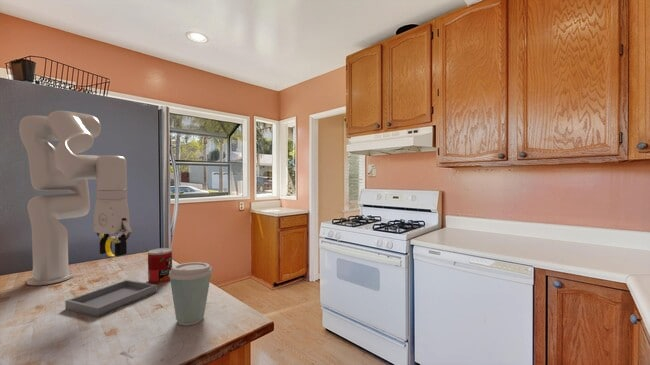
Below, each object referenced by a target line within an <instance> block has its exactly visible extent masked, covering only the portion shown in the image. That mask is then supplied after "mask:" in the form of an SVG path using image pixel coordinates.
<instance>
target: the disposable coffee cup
mask: <svg viewBox="0 0 650 365" xmlns="http://www.w3.org/2000/svg"><path fill="white" fill-rule="evenodd" d="M212 272H213V267H212V266H211V264H209V263H208V262H199V261H198V262H197V261H195V262H193V261H192V262H191V261H190V262H185V263H179V264H175V265H172V268H171V271H170V272H169V277H170V280H169V281H170V288H171V294H172V299H173V307H174V313H175V321H177V323H178V324H179V325H181V326H192V325H195V324H198V323H200V322H201V321H203V318H204V317H205V313H206V312H205V311H206V306H207V301H208V300H207V299H208V294H209V287H210V282H211V278H212V277H211V276H212Z"/></svg>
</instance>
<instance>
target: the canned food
mask: <svg viewBox="0 0 650 365" xmlns="http://www.w3.org/2000/svg"><path fill="white" fill-rule="evenodd" d="M172 267H173V249H172V248H170V247H169V248H168V247H159V248H154V249H150V250H148V251H147V276H148V282H149V284H161V283H166V282H169V281H170V277H169V272H170V271H171V268H172Z"/></svg>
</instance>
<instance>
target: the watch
mask: <svg viewBox="0 0 650 365" xmlns="http://www.w3.org/2000/svg"><path fill="white" fill-rule="evenodd" d="M111 241H113V242H114V244H115V243H117V242H116V239H115V236H110V237H108V238H107V241H106V243H105V250H106V253H105V254H106V255H107V257H111V258H116V257H118V256H115V253H114V252H112V251H111V248H110V243H111ZM113 253H114V254H113Z"/></svg>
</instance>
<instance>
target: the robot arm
mask: <svg viewBox="0 0 650 365" xmlns="http://www.w3.org/2000/svg"><path fill="white" fill-rule="evenodd" d="M101 131H102V125H101V122H100V120H99V119H98V118H97V117H96V116H95V115H92V114H88V113H80V112H76V111H69V110H55V111H52V112H50V113H49V114H48V115H46V116H45V115H37V114H36V115H34V114H33V115H26V116H24V117H23V118H22V119H21V120H20V122H19V126H18V132H19V136H20V140H21V142H22V144H23V146H24V148H25V149H26V153H27V156H28V165H29V166H28V167H29V175H30V183H31V186H32V188H33V189H34V190H36V191H41V192H55V191H56V192H57V191H69V193H54V194H53V193H51V194H42V195H36V196H33V197H32V198H31V199H29V201H28V202H27V213H28V215H29V216H28V217H29V220H30V221H29V222H30V227H31V242H32V243H31V244H32V247H31V248H32V270H31V272H32V277H30V278H28V279H27V280H26V283H27V285H29V286H32V287H33V286H44V285H52V284H56V283H60V282H64V281H67V280H70V279H71V278H73V277H74V276H75V272H74V271H73V270H72V271H70V270H69V242H68V241H69V240H68V239H69V238H68V237H69V236H68V229H67V228H66V227H65V225H63V223H61V222H60V221H59V220H65V219H74V218H75V219H77V218H82V217H84V216H87V215H88V214H89V212H90V210H91V199H90V191H89V181H88V180H95V181H96V182H95V183H96V200H95V204H94V209H93V210H94V211H93V231H94V232H95V233H96V235H97V238H98V240H97V241H98V242H99V254H100V255H105V254H107V253H106V250H105V243H106V241H107V238H108V237H112V235H113V237H115V239H116V242H117V243H114V255H115V256H117V257H119V256H120V257H121V256H124V255H126V254H127V251H128V250H127V249H128V248H127V242H128V240H129V238H130V235H132V233H133V229H132V228H131V226H130V225H131V224H130V222H131V220H130V218H131V217H130V209H129V204H128V185H127V184H128V181H127V180H128V178H127V176H128V175H127V173H128V171H127V169H128V168H127V160H126V158H125V157H124V156H121V155H109V154H108V155H104V154H103V155H97V154H95V155H94V154H93V155H91V154H81V153H85V152H86V151H88V150H90V149H91V148H92V147H93V145H94V142H95V141H94V140H95V138H98V137H99V135H100V133H101ZM50 141H55V142H58V143H57V144H56V146H54V145H53V144H52V143H50ZM112 247H113V246H112V241H111V243H110V248H111V252H112V250H113V249H112Z"/></svg>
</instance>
